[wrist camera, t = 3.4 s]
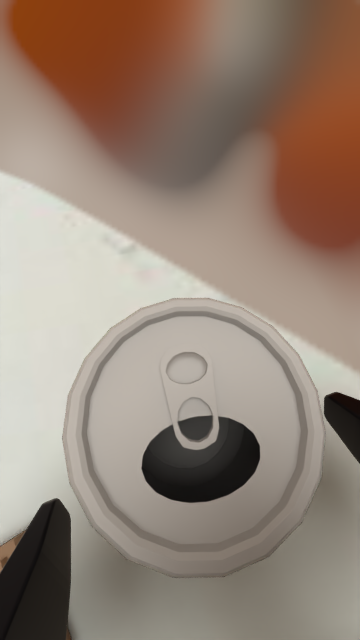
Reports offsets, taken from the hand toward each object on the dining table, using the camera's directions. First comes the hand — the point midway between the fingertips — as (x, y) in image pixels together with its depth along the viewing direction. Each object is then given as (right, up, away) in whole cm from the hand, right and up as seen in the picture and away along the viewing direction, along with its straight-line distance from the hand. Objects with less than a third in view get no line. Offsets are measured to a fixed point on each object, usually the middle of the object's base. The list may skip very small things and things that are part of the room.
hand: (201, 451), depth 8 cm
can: (0, -2, +9) cm, 9 cm away
